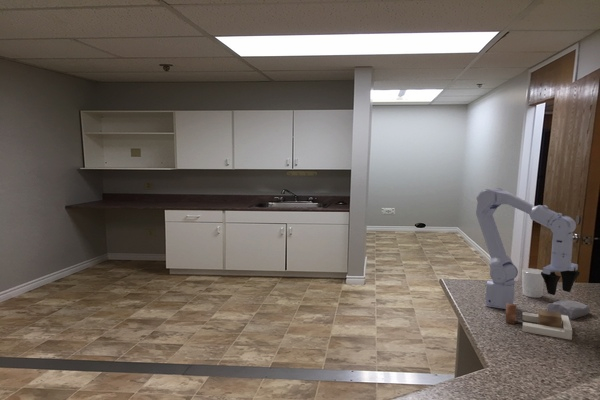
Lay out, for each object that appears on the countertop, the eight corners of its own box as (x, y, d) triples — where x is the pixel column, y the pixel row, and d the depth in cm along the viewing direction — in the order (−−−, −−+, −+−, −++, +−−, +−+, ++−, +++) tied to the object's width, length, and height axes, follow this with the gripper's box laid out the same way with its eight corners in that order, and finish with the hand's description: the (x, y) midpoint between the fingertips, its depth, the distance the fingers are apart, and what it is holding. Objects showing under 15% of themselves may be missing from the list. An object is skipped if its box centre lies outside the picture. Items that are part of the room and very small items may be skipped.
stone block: (544, 316, 145) (573, 320, 136) (542, 302, 145) (571, 305, 136) (563, 311, 150) (593, 315, 141) (562, 298, 150) (591, 301, 142)
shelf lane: (522, 331, 127) (522, 322, 127) (522, 317, 138) (522, 309, 138) (571, 339, 121) (572, 330, 121) (567, 324, 132) (567, 315, 132)
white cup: (522, 290, 167) (523, 267, 166) (544, 294, 163) (545, 270, 162) (519, 295, 161) (520, 271, 160) (542, 299, 156) (543, 274, 155)
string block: (505, 323, 133) (506, 306, 132) (505, 318, 137) (506, 301, 137) (560, 333, 126) (561, 314, 125) (559, 327, 130) (560, 309, 129)
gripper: (558, 257, 127) (555, 299, 128) (588, 253, 133) (585, 293, 134) (537, 252, 133) (535, 292, 135) (566, 249, 139) (564, 287, 140)
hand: (558, 292), depth 135 cm, fingers open, 7 cm apart
